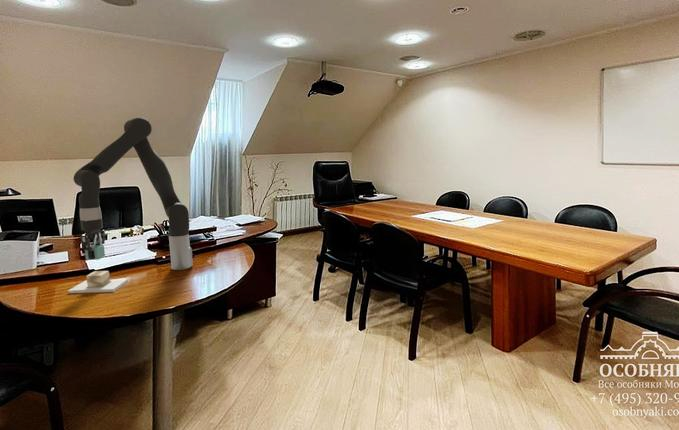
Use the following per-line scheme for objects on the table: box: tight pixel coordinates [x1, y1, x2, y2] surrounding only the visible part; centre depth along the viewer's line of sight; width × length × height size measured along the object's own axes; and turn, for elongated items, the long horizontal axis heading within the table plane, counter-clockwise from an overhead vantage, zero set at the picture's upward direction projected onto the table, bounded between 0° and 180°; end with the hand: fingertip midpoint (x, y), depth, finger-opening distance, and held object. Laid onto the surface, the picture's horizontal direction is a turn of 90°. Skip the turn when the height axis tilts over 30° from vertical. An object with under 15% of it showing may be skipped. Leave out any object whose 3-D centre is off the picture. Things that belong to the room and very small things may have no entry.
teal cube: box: [84, 244, 106, 261], centre depth 154 cm, size 5×5×5 cm
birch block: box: [86, 270, 111, 287], centre depth 156 cm, size 6×6×5 cm
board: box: [67, 278, 129, 294], centre depth 157 cm, size 18×12×1 cm, turn 95°
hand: (95, 256), depth 154 cm, fingers closed on teal cube, 5 cm apart
